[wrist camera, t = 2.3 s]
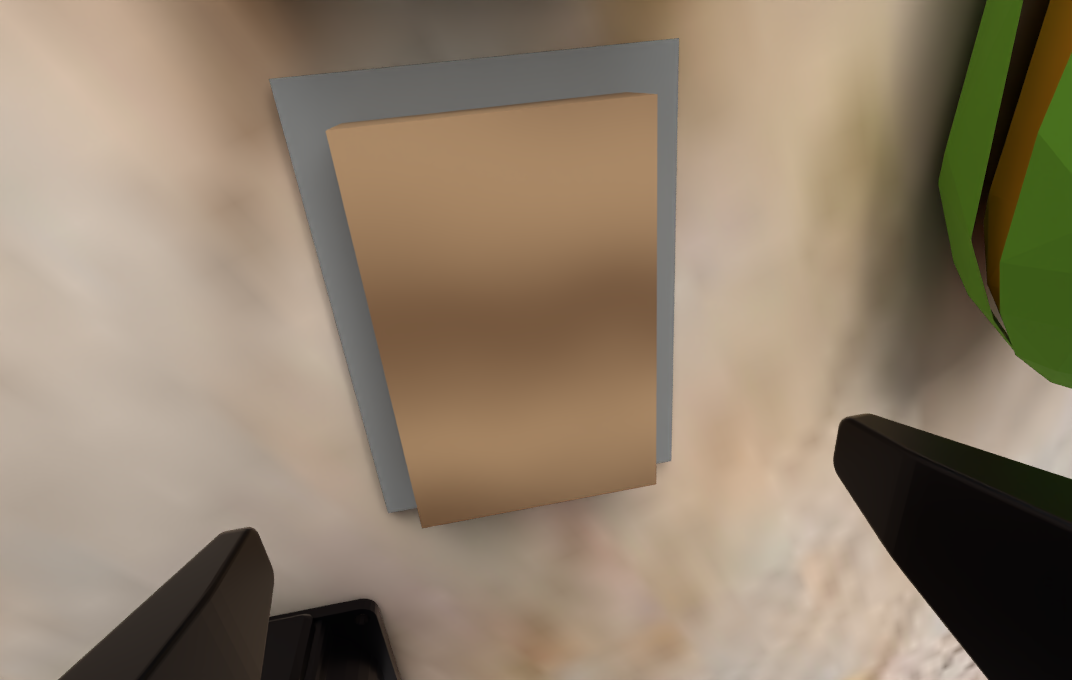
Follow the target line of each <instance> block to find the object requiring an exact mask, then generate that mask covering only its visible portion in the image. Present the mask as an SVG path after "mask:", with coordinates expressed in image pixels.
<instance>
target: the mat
mask: <svg viewBox="0 0 1072 680" xmlns="http://www.w3.org/2000/svg"><path fill="white" fill-rule="evenodd" d="M678 61H679V38H676V39H666V40H656V41H646V42H636V43H626V44H616V45H606V46H596V47H586V48H576V49H566V50H556V51H546V52H536V53H526V54H516V55H506V56H495V57H485V58H475V59H465V60H455V61H445V62H435V63H425V64H415V65H405V66H395V67H385V68H375V69H365V70H355V71H345V72H335V73H325V74H315V75H305V76H295V77H285V78H274V79H269V81H270V84H271V88H272V92H273V95H274V99H275V103H276V106H277V110H278V114H279V117H280V121H281V125H282V128H283V132H284V135H285V139H286V143H287V146H288V150H289V154H290V157H291V161H292V165H293V168H294V172H295V176H296V179H297V183H298V186H299V190H300V194H301V197H302V201H303V205H304V208H305V212H306V216H307V219H308V223H309V227H310V230H311V234H312V237H313V241H314V245H315V248H316V252H317V256H318V259H319V263H320V267H321V270H322V274H323V278H324V281H325V285H326V288H327V292H328V296H329V299H330V303H331V307H332V310H333V314H334V318H335V321H336V325H337V328H338V332H339V336H340V339H341V343H342V347H343V350H344V354H345V358H346V361H347V365H348V369H349V372H350V376H351V379H352V383H353V387H354V390H355V394H356V398H357V401H358V405H359V409H360V412H361V416H362V420H363V423H364V427H365V430H366V434H367V438H368V441H369V445H370V449H371V452H372V456H373V460H374V463H375V467H376V471H377V474H378V478H379V481H380V485H381V489H382V492H383V496H384V500H385V503H386V507H387V511H388V513H392V512H397V511H403V510H408V509H414V508H417V505H416V501H415V497H414V493H413V488H412V484H411V480H410V476H409V472H408V468H407V464H406V460H405V456H404V451H403V447H402V443H401V439H400V435H399V431H398V427H397V423H396V419H395V414H394V410H393V406H392V402H391V398H390V394H389V390H388V386H387V382H386V377H385V373H384V369H383V365H382V361H381V357H380V353H379V349H378V345H377V340H376V336H375V332H374V328H373V324H372V320H371V316H370V312H369V307H368V303H367V299H366V295H365V291H364V287H363V283H362V279H361V275H360V270H359V266H358V262H357V258H356V254H355V250H354V246H353V242H352V238H351V233H350V229H349V225H348V221H347V217H346V213H345V209H344V205H343V201H342V196H341V192H340V188H339V184H338V180H337V176H336V172H335V168H334V164H333V159H332V155H331V151H330V147H329V143H328V139H327V135H326V130H328V129H330V128H332V127H335V126H337V125H339V124H341V123H348V122H357V121H366V120H376V119H385V118H394V117H403V116H412V115H421V114H430V113H440V112H449V111H458V110H467V109H476V108H485V107H495V106H504V105H513V104H522V103H531V102H540V101H549V100H559V99H568V98H577V97H586V96H595V95H604V94H614V93H623V92H633V93H648V94H658V97H657V392H656V464H657V463H663V462H668V461H671V447H672V392H673V337H674V282H675V227H676V171H677V116H678Z"/></svg>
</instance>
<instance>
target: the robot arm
mask: <svg viewBox="0 0 1072 680" xmlns="http://www.w3.org/2000/svg"><path fill="white" fill-rule="evenodd" d="M833 462H834V468H835V471H836V473H837V475H838V477H839V478H840V480H841V481H842V483H843V484H844V486H845V487H846V489H847V490H848V492H849V493H850V495H851V497H852V498H853V500H854V501H855V503H856V504H857V506H858V507H859V509H860V510H861V512H862V513H863V515H864V516H865V518H866V520H867V521H868V523H869V524H870V526H871V527H872V529H873V530H874V532H875V533H876V535H877V536H878V538H879V540H880V541H881V543H882V544H883V545H884V547H885V548H886V550H887V551H888V553H889V554H890V556H891V557H892V558H893V560H894V561H895V562H896V564H897V565H898V566H899V568H900V569H901V570H902V572H903V573H904V574H905V575H906V577H907V578H908V579H909V580H910V582H911V583H912V584H913V585H914V587H915V588H916V589H917V591H918V592H919V593H920V594H921V596H922V597H923V598H924V599H925V601H926V602H927V603H928V604H929V606H930V607H931V608H932V609H933V611H934V612H935V613H936V614H937V616H938V617H939V618H940V620H941V621H942V622H943V623H944V625H945V626H946V627H947V628H948V630H949V631H950V632H951V633H952V635H953V636H954V637H955V638H956V640H957V641H958V642H959V643H960V645H961V646H962V647H963V648H964V650H965V651H966V652H967V654H968V655H969V656H970V657H971V659H972V660H973V661H974V662H975V664H976V665H977V666H978V667H979V669H980V670H981V671H982V672H983V674H984V675H985V676H986V677H987V679H988V680H1072V479H1069V478H1066V477H1063V476H1060V475H1057V474H1054V473H1051V472H1048V471H1045V470H1042V469H1039V468H1036V467H1032V466H1029V465H1026V464H1023V463H1020V462H1017V461H1014V460H1011V459H1008V458H1005V457H1002V456H999V455H996V454H993V453H989V452H986V451H983V450H980V449H977V448H974V447H971V446H968V445H965V444H962V443H959V442H956V441H953V440H950V439H947V438H943V437H940V436H937V435H934V434H931V433H928V432H925V431H922V430H919V429H916V428H913V427H910V426H907V425H904V424H901V423H897V422H894V421H891V420H888V419H885V418H882V417H879V416H876V415H873V414H860V415H855V416H849V417H846V418H844V419H843V420H842V421H841V422H840V424H839V428H838V434H837V440H836V445H835V451H834V457H833ZM273 587H274V573H273V568H272V565H271V563H270V560H269V558H268V556H267V553H266V551H265V548H264V546H263V544H262V541H261V539H260V536H259V534H258V532H257V531H256V530H255V529H254V528H251V527H246V528H241V529H235V530H230V531H225V532H223V533H221V534H219V535H218V536H217V537H216V538H215V539H214V540H212V541H211V542H210V543H209V544H208V545H207V546H206V547H205V548H204V549H202V550H201V551H200V552H199V553H198V554H197V555H196V556H195V557H194V558H192V559H191V560H190V561H189V562H188V563H187V564H186V565H185V566H184V567H182V568H181V569H180V570H179V571H178V572H177V573H176V574H175V575H174V576H172V577H171V578H170V579H169V580H168V581H167V582H166V583H165V584H164V585H163V586H161V587H160V588H159V589H158V590H157V591H156V592H155V593H154V594H153V595H151V596H150V597H149V598H148V599H147V600H146V601H145V602H144V603H143V604H141V605H140V606H139V607H138V608H137V609H136V610H135V611H134V612H133V613H131V614H130V615H129V616H128V617H127V618H126V619H125V620H124V621H123V622H121V623H120V624H119V625H118V626H117V627H116V628H115V629H114V630H113V631H112V632H110V633H109V634H108V635H107V636H106V637H105V638H104V639H103V640H102V641H100V642H99V643H98V644H97V645H96V646H95V647H94V648H93V649H92V650H90V651H89V652H88V653H87V654H86V655H85V656H84V657H83V658H82V659H80V660H79V661H78V662H77V663H76V664H75V665H74V666H73V667H72V668H71V669H69V670H68V671H67V672H66V673H65V674H64V675H63V676H62V677H61V678H59V679H58V680H401V677H400V674H399V671H398V668H397V665H396V662H395V658H394V655H393V652H392V649H391V646H390V643H389V639H388V636H387V633H386V630H385V627H384V624H383V620H382V617H381V614H380V611H379V608H378V605H377V604H376V603H375V602H374V601H372V600H369V599H358V600H353V601H348V602H343V603H338V604H333V605H328V606H323V607H318V608H313V609H308V610H303V611H298V612H293V613H288V614H283V615H278V616H273V617H269V616H270V609H271V602H272V595H273Z"/></svg>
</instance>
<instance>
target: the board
mask: <svg viewBox="0 0 1072 680" xmlns="http://www.w3.org/2000/svg"><path fill="white" fill-rule="evenodd" d="M657 97H658V94H648V93H633V92H623V93H614V94H604V95H595V96H586V97H577V98H568V99H559V100H549V101H540V102H531V103H522V104H513V105H504V106H495V107H485V108H476V109H467V110H458V111H449V112H440V113H430V114H421V115H412V116H403V117H394V118H385V119H376V120H366V121H357V122H348V123H341V124H339V125H337V126H335V127H332V128H330V129H328V130H326V135H327V139H328V143H329V147H330V151H331V155H332V159H333V164H334V168H335V172H336V176H337V180H338V184H339V188H340V192H341V196H342V201H343V205H344V209H345V213H346V217H347V221H348V225H349V229H350V233H351V238H352V242H353V246H354V250H355V254H356V258H357V262H358V266H359V270H360V275H361V279H362V283H363V287H364V291H365V295H366V299H367V303H368V307H369V312H370V316H371V320H372V324H373V328H374V332H375V336H376V340H377V345H378V349H379V353H380V357H381V361H382V365H383V369H384V373H385V377H386V382H387V386H388V390H389V394H390V398H391V402H392V406H393V410H394V414H395V419H396V423H397V427H398V431H399V435H400V439H401V443H402V447H403V451H404V456H405V460H406V464H407V468H408V472H409V476H410V480H411V484H412V488H413V493H414V497H415V501H416V505H417V509H418V513H419V517H420V521H421V525H422V528H427V527H432V526H437V525H443V524H448V523H453V522H459V521H464V520H469V519H474V518H480V517H485V516H490V515H496V514H501V513H506V512H512V511H517V510H522V509H527V508H533V507H538V506H543V505H549V504H554V503H559V502H564V501H570V500H575V499H580V498H586V497H591V496H596V495H602V494H607V493H612V492H617V491H623V490H628V489H633V488H639V487H644V486H649V485H655V484H656V392H657Z"/></svg>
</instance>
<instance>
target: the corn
mask: <svg viewBox="0 0 1072 680" xmlns="http://www.w3.org/2000/svg"><path fill="white" fill-rule="evenodd" d="M1022 4H1023V0H987V1H986V5H985V8H984V12H983V16H982V19H981V23H980V26H979V30H978V34H977V37H976V41H975V45H974V48H973V52H972V55H971V59H970V63H969V66H968V70H967V73H966V77H965V81H964V84H963V88H962V91H961V95H960V99H959V102H958V106H957V110H956V113H955V117H954V120H953V124H952V128H951V131H950V135H949V138H948V142H947V146H946V149H945V154H944V158H943V163H942V167H941V172H940V176H939V181H938V185H939V191H940V196H941V201H942V206H943V211H944V216H945V221H946V226H947V231H948V236H949V241H950V246H951V251H952V257H953V262H954V264H955V266H956V269H957V271H958V273H959V276H960V278H961V280H962V282H963V285H964V287H965V289H966V292H967V294H968V296H969V297H970V298H971V299H972V300H973V302H974V303H975V304H976V305H977V306H978V308H979V309H980V310H981V311H982V313H983V314H984V315H985V316H986V317H987V319H988V320H989V321H990V322H991V323H992V325H993V326H994V327H995V328H996V329H997V331H998V332H999V333H1000V334H1001V335H1002V337H1003V338H1004V339H1005V340H1006V342H1007V343H1008V344H1009V345H1010V346H1011V348H1012V349H1013V350H1014V352H1015V355H1016V356H1018V357H1019V358H1020V359H1021V360H1023V361H1024V362H1025V363H1027V364H1028V365H1029V366H1030V367H1032V368H1033V369H1034V370H1036V371H1037V372H1038V373H1039V374H1041V375H1042V376H1043V377H1045V378H1046V379H1047V380H1049V381H1050V382H1052V383H1055V384H1058V385H1062V386H1065V387H1068V388H1072V0H1050V2H1049V6H1048V9H1047V12H1046V15H1045V18H1044V21H1043V25H1042V28H1041V31H1040V34H1039V37H1038V40H1037V43H1036V47H1035V50H1034V53H1033V56H1032V59H1031V62H1030V65H1029V69H1028V72H1027V75H1026V78H1025V81H1024V84H1023V88H1022V91H1021V94H1020V97H1019V100H1018V103H1017V106H1016V110H1015V113H1014V116H1013V119H1012V122H1011V125H1010V128H1009V132H1008V135H1007V138H1006V141H1005V144H1004V147H1003V150H1002V154H1001V157H1000V160H999V163H998V166H997V169H996V173H995V176H994V179H993V182H992V185H991V188H990V191H989V195H988V201H987V206H986V211H985V216H984V221H983V224H984V240H985V256H986V272H987V285H988V287H989V289H990V292H991V294H992V296H993V299H994V301H995V304H996V306H997V308H998V311H999V313H1000V315H1001V318H1002V320H1003V323H1004V326H1005V328H1006V331H1007V333H1006V332H1005V330H1004V329H1003V327H1002V326H1001V324H1000V323H999V321H998V320H997V318H996V317H995V315H994V314H993V312H992V311H991V309H990V306H989V302H988V299H987V295H986V291H985V288H984V284H983V281H982V277H981V274H980V270H979V267H978V263H977V260H976V256H975V253H974V249H973V246H972V242H971V237H972V232H973V228H974V223H975V219H976V214H977V210H978V205H979V200H980V196H981V191H982V187H983V182H984V178H985V173H986V168H987V164H988V159H989V155H990V150H991V146H992V141H993V136H994V132H995V127H996V123H997V118H998V114H999V109H1000V104H1001V100H1002V95H1003V91H1004V86H1005V82H1006V77H1007V72H1008V68H1009V63H1010V59H1011V54H1012V50H1013V45H1014V40H1015V36H1016V31H1017V27H1018V22H1019V18H1020V13H1021V8H1022ZM1007 334H1008V335H1007Z"/></svg>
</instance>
